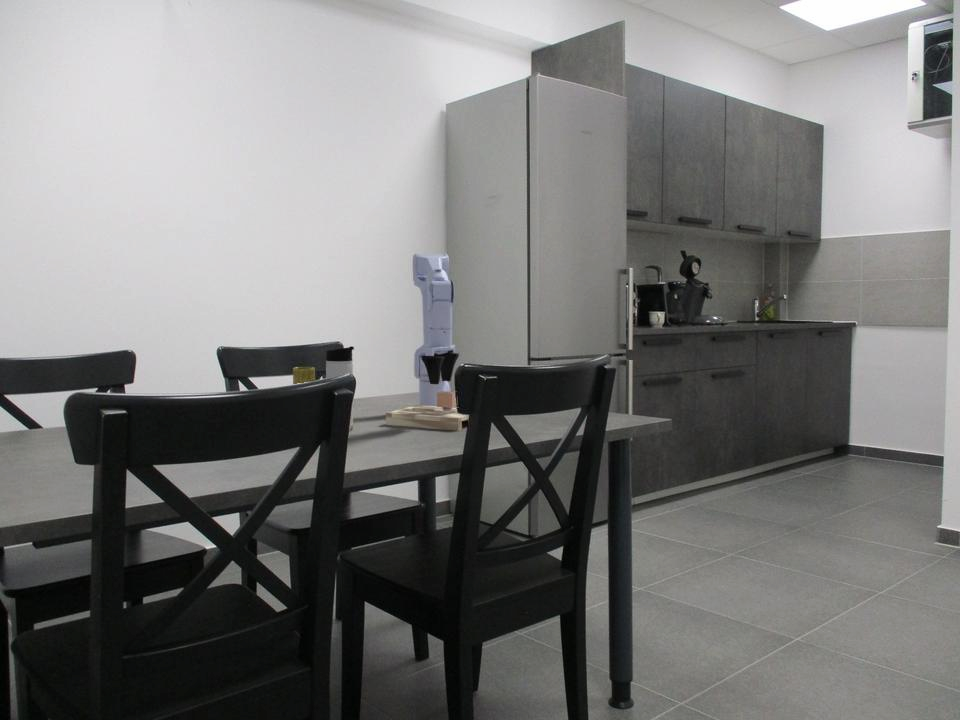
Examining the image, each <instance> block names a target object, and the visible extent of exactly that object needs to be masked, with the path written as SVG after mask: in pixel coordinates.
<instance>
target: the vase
mask: <svg viewBox="0 0 960 720" xmlns="http://www.w3.org/2000/svg"><path fill="white" fill-rule="evenodd" d="M315 369H316V368H315V367H313V366H297V367H296V366H295V367H292V374H293V375H292V385H293V384H297V383H304V382H308V381H312V380H315V381H316V372H315V371H316V370H315Z"/></svg>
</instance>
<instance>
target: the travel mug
mask: <svg viewBox="0 0 960 720" xmlns="http://www.w3.org/2000/svg"><path fill="white" fill-rule="evenodd" d="M354 350H355V347H354V346H349V347H343V348H342V347H341V348H340V347H339V348H334V349H329V350H328V349H327V350H326V352H325V356H326V359H325V379H326V378H328V377H333V376H338V375H341V374H345V373H351V374H354V373H353V372H354V371H353V370H354V368H353V367H354V364H353V361H354V360H353V351H354ZM353 429H354V404H353V405H352V413H351V428H350V431H352V430H353Z"/></svg>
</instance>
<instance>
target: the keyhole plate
mask: <svg viewBox="0 0 960 720" xmlns="http://www.w3.org/2000/svg"><path fill="white" fill-rule="evenodd" d="M456 408H457V407H453V408H452V413H451V414H450V413H442V407H437V406H423V405H419V404H416V405H411V406H408V407H404V408H401V409H396V410H392V411H391V410H390V411H387V412H386V413H385V426H394V427H395V426H396V427H407V428H409V427H410V428H422V429H433V430H444V431H445V430H447V431H454V432H455V431H461V430H463V429H462V427H463V424H462V422H468V421H467V420H468V417H469V416H468V415H462V414H458V413H457V409H456Z"/></svg>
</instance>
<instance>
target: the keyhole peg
mask: <svg viewBox="0 0 960 720" xmlns="http://www.w3.org/2000/svg"><path fill="white" fill-rule="evenodd" d="M455 392H456V391H450V392H447V391H442V392H439V393H437V407H442V413H450V414H451V413H452V408H456V407H457V406H456V398H455Z"/></svg>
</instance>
